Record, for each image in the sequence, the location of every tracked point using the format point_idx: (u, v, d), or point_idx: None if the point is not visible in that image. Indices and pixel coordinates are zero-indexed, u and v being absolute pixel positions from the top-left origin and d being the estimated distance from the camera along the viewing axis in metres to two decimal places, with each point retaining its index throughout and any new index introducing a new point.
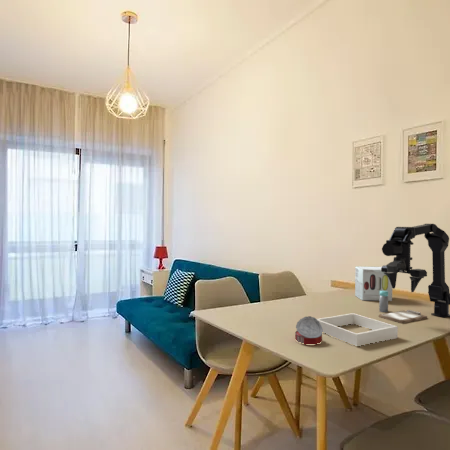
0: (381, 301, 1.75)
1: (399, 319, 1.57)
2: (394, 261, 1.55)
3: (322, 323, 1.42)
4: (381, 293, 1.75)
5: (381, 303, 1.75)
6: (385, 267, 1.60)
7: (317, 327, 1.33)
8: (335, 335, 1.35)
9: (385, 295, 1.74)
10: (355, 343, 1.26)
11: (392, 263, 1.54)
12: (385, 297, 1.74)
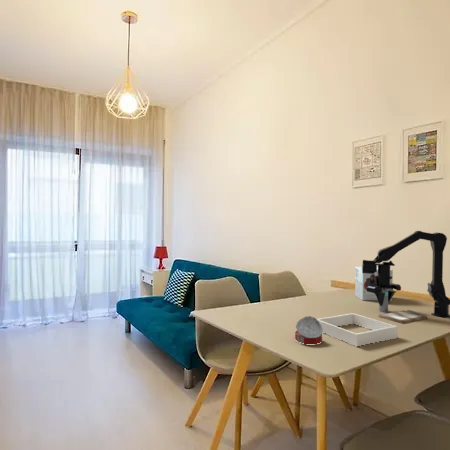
0: None
1: (399, 319, 1.57)
2: None
3: (322, 323, 1.42)
4: None
5: None
6: None
7: (317, 327, 1.33)
8: (335, 335, 1.35)
9: (385, 295, 1.74)
10: (355, 343, 1.26)
11: None
12: (385, 297, 1.74)
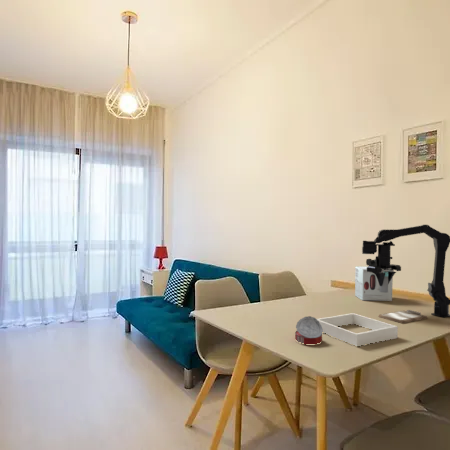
0: None
1: (399, 319, 1.57)
2: None
3: (322, 323, 1.42)
4: None
5: None
6: None
7: (317, 327, 1.33)
8: (335, 335, 1.35)
9: (385, 275, 1.74)
10: (355, 343, 1.26)
11: None
12: (385, 277, 1.74)
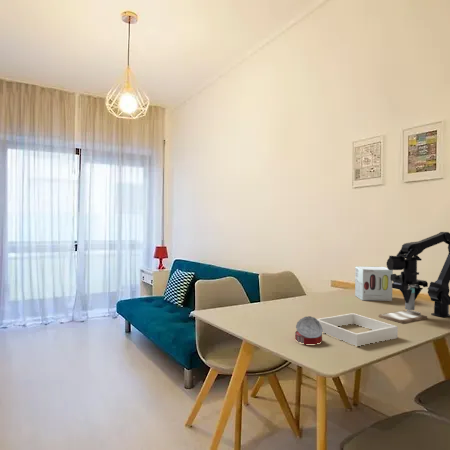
0: None
1: (399, 319, 1.57)
2: None
3: (322, 323, 1.42)
4: None
5: None
6: None
7: (317, 327, 1.33)
8: (335, 335, 1.35)
9: (411, 292, 1.65)
10: (355, 343, 1.26)
11: None
12: (411, 294, 1.65)
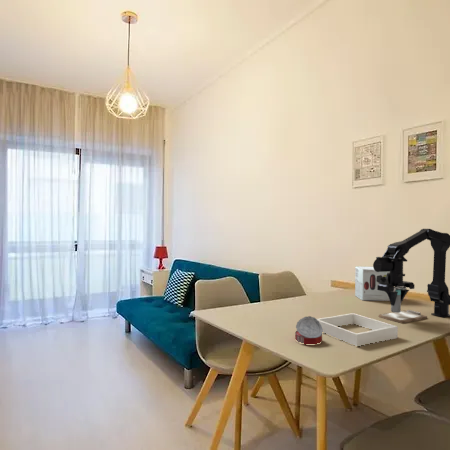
0: None
1: (399, 319, 1.57)
2: None
3: (322, 323, 1.42)
4: None
5: None
6: None
7: (317, 327, 1.33)
8: (335, 335, 1.35)
9: (397, 294, 1.61)
10: (355, 343, 1.26)
11: None
12: (397, 296, 1.61)
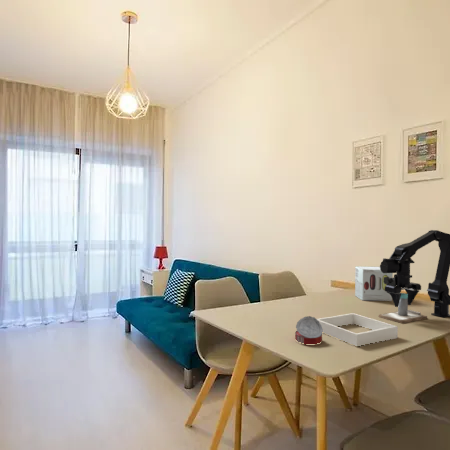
0: (400, 304, 1.64)
1: (399, 319, 1.57)
2: None
3: (322, 323, 1.42)
4: None
5: (400, 306, 1.64)
6: None
7: (317, 327, 1.33)
8: (335, 335, 1.35)
9: (405, 297, 1.63)
10: (355, 343, 1.26)
11: None
12: (405, 300, 1.63)
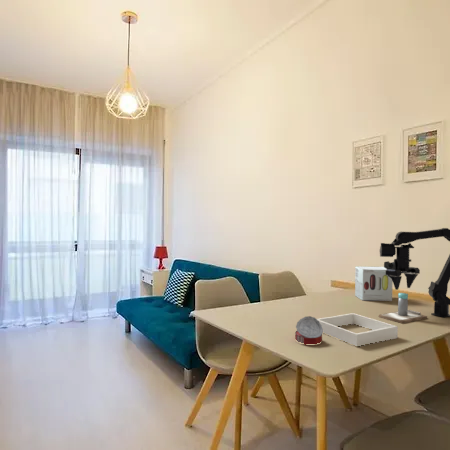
0: (400, 304, 1.64)
1: (399, 319, 1.57)
2: None
3: (322, 323, 1.42)
4: (400, 295, 1.64)
5: (400, 306, 1.64)
6: None
7: (317, 327, 1.33)
8: (335, 335, 1.35)
9: (405, 298, 1.63)
10: (355, 343, 1.26)
11: None
12: (405, 300, 1.63)
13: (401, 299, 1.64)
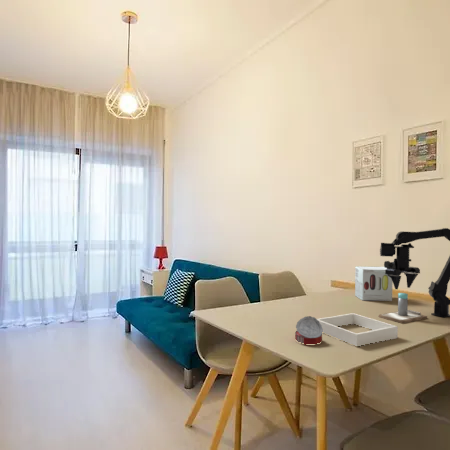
0: (400, 304, 1.64)
1: (399, 319, 1.57)
2: None
3: (322, 323, 1.42)
4: (400, 295, 1.64)
5: (400, 306, 1.64)
6: None
7: (317, 327, 1.33)
8: (335, 335, 1.35)
9: (404, 298, 1.63)
10: (355, 343, 1.26)
11: None
12: (404, 300, 1.63)
13: (401, 299, 1.64)
